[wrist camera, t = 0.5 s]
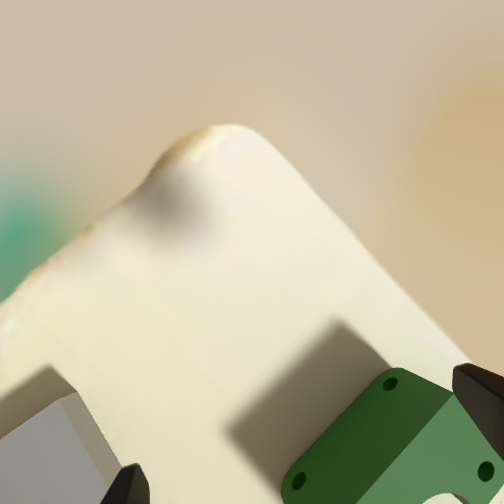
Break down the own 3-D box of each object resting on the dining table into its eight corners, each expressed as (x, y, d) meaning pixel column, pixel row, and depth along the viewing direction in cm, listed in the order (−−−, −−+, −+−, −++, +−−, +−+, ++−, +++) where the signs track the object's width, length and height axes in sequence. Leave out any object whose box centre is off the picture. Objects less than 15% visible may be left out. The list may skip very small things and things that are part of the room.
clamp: (330, 488, 26) (351, 649, 17) (282, 433, 25) (278, 572, 16) (471, 411, 23) (582, 557, 14) (421, 349, 22) (505, 461, 14)
